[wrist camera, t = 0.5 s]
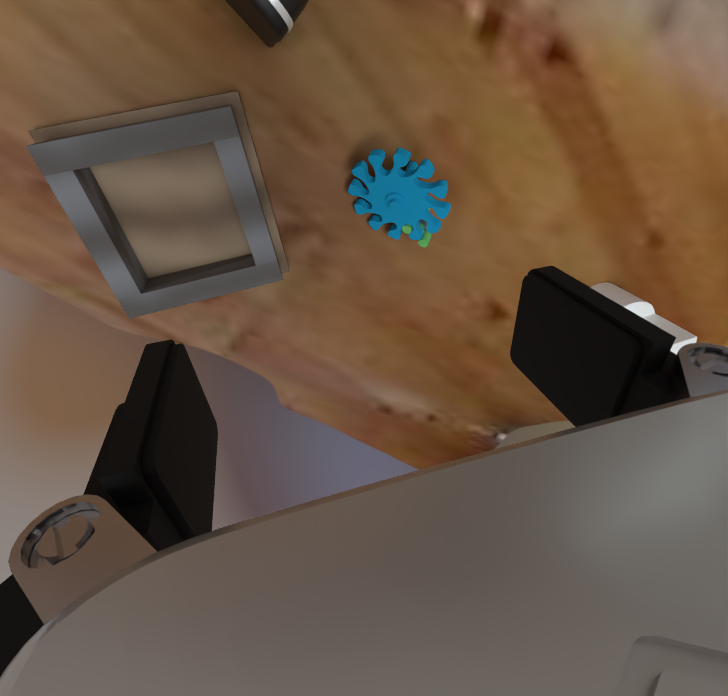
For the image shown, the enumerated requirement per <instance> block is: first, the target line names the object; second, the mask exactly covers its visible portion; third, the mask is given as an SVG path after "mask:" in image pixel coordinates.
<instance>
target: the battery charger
mask: <svg viewBox="0 0 728 696" xmlns="http://www.w3.org/2000/svg"><path fill="white" fill-rule="evenodd" d="M226 2H227V3H228V4H229V5H230V6H231V7H232V8H233V9H234V10H235V11H236V12H237V13H238V15H239V16H240V17H241V18H242V19H243V20H244V21H245V22H246V23H247V24H248V25H249V27H250V28H251V29H252V30H253V31H254V32H255V33H256V34H257V35H258V36H259V37H260V38H261V40H262V41H263V42H264V43H265V44H266V45H267V46H268V47H273V46H274V44H275V43H277V42H280V41H281V40H282V39H283V38H284V37H286V36H287V35H288V33H289V32H290V31H291V29H292V27H293V23H294V22H295V21H296V19H297V18H298V16H299V15H300V13H301V12H302V11H303V9H304V8H305V6H306V4H307V2H308V0H226Z"/></svg>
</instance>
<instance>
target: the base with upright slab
mask: <svg viewBox="0 0 728 696" xmlns="http://www.w3.org/2000/svg"><path fill="white" fill-rule="evenodd" d="M590 288H592V289H594V290H595V291H597V292H599V293H601V294H602V295H604V296H606V297H607V298H609V299H611V300H613V301H614V302H616V303H618V304H620V305H621V306H623V307H625V308H626V309H628V310H630V311H632V312H633V313H635V314H637V315H638V316H640V317H642V318H644V319H645V320H647V321H649V322H651V323H652V324H654V325H656V326H657V327H659V328H661V329H663V330H664V331H666V332H668V333H669V334H671V335H673V336H675V337H676V339H675V341H674V343H673V346H672V348H671V350H670V351H671V352H673V353H675V354H676V355H677V353H678V351H679V349H680V348H681V347H682V346H684V345H687V344H690V343H696V340H697V337H696V336H695V335H693V334H691V333H689V332H687V331H686V330H684V329H682V328H680V327H678V326H677V325H675V324H673V323H671V322H669V321H668V320H666V319H664V318H662V317H660V316H658V315H657V314H655V311H654V308H653V307H652V305H651V304H649V303H647V302H645V301H643V300H641V299H640V298H638V297H636V296H634V295H632V294H630V293H628V292H627V291H625V290H623V289H621V288H619V287H617V286H615V285H614V284H612V283H600V284H597V285H594V286H592V287H590Z"/></svg>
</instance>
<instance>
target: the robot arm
mask: <svg viewBox="0 0 728 696" xmlns="http://www.w3.org/2000/svg"><path fill="white" fill-rule="evenodd" d="M675 339H676V337H675V336H673V335H671V334H669V333H668V332H666V331H664V330H663V329H661V328H659V327H657V326H656V325H654V324H652V323H651V322H649V321H647V320H645V319H644V318H642V317H640V316H638V315H637V314H635V313H633V312H632V311H630V310H628V309H626V308H625V307H623V306H621V305H620V304H618V303H616V302H614V301H613V300H611V299H609V298H607V297H606V296H604V295H602V294H601V293H599V292H597V291H595V290H594V289H592V288H590V287H589V286H587V285H585V284H583V283H582V282H580V281H578V280H576V279H575V278H573V277H571V276H570V275H568V274H566V273H564V272H563V271H561V270H559V269H558V268H556V267H554V266H547V267H542V268H537V269H532V270H531V271H529V273H528V275H527V276H525V277H524V279H523V282H522V288H521V294H520V299H519V305H518V311H517V317H516V322H515V328H514V334H513V339H512V345H511V351H510V356H511V360H512V362H513V363H514V364H515V365H516V367H517V368H518V369H519V370H520V371H521V372H522V373H523V374H524V375H525V376H526V377H527V378H528V379H529V380H530V381H531V382H532V383H533V384H534V385H535V386H536V387H537V388H538V389H539V390H540V391H541V392H542V393H543V394H544V395H545V396H546V397H547V398H548V399H549V400H550V401H551V402H552V403H553V404H554V405H555V406H556V407H557V408H558V409H559V410H560V411H561V412H562V413H563V415H564V416H565V417H566V418H567V419H568V420H569V421H570V422H571V423H572V424H573V425H574V426H575V428H571V429H568V430H564V431H560V432H556V433H553V434H549V435H545V436H542V437H538V438H534V439H531V440H527V441H524V442H520V443H516V444H512V445H509V446H506V447H501V448H498V449H494V450H491V451H487V452H483V453H480V454H476V455H472V456H469V457H465V458H462V459H458V460H454V461H451V462H447V463H444V464H440V465H436V466H433V467H429V468H425V469H422V470H418V471H415V472H411V473H408V474H404V475H401V476H397V477H393V478H390V479H386V480H383V481H380V482H376V483H373V484H369V485H365V486H362V487H358V488H354V489H351V490H347V491H344V492H340V493H337V494H333V495H330V496H326V497H323V498H319V499H315V500H312V501H309V502H305V503H302V504H298V505H295V506H292V507H288V508H285V509H282V510H278V511H275V512H272V513H269V514H265V515H262V516H258V517H255V518H252V519H248V520H245V521H242V522H238V523H235V524H232V525H228V526H226V527H223V528H220V529H217V530H214V531H212V518H213V517H212V516H213V502H214V485H215V471H216V455H217V439H218V432H217V431H218V430H217V424H216V421H215V418H214V416H213V414H212V411H211V409H210V406H209V404H208V402H207V399H206V397H205V394H204V392H203V389H202V387H201V385H200V383H199V380H198V377H197V375H196V373H195V370H194V368H193V366H192V363H191V361H190V358H189V356H188V354H187V351H186V349H185V347H184V345H183V344H182V343H181V344H175V342H174V341H173V340H166V341H161V342H156V343H151V344H147V345H146V346H145V348H144V351H143V354H142V356H141V359H140V362H139V365H138V367H137V370H136V373H135V376H134V378H133V381H132V384H131V387H130V390H129V392H128V395H127V398H126V401H125V403H122V404H120V405H119V406H118V407H117V409H116V411H115V413H114V416H113V418H112V422H111V424H110V426H109V429H108V432H107V434H106V437H105V439H104V442H103V445H102V447H101V450H100V453H99V455H98V458H97V461H96V463H95V466H94V468H93V471H92V474H91V476H90V479H89V482H88V484H87V487H86V489H85V492H84V495H81V496H75V497H72V498H69V499H67V500H64V501H62V502H59V503H57V504H56V505H54V506H52V507H51V508H49V509H47V510H46V511H44V512H43V513H41V514H40V515H39V516H38V517H37V518H36V519H34V520H33V521H32V522H31V523H30V524H29V525H28V526H27V527H26V528H25V529H24V530H23V532H22V533H21V534H20V535H19V536H18V538H17V540H16V542H15V543H14V545H13V547H12V549H11V552H10V557H9V566H10V570H11V572H12V575H11V576H10V577H9V578H8V579H6V580H5V581H4V582H3V583H1V584H0V696H728V348H727V347H724V346H720V345H715V344H709V343H690V344H687V345H684V346H682V347H681V348H680V349H679V351H678V353H677V355H676V354H675V353H673V352H671V351H670V350H671V348H672V346H673V343H674V341H675Z"/></svg>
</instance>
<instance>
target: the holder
mask: <svg viewBox="0 0 728 696" xmlns="http://www.w3.org/2000/svg"><path fill="white" fill-rule="evenodd" d="M28 132H29V133H30V135H31V137H32V138H33V140H34V142H35V144H32V145H28V146H26V147H27V149H28V151H29V152H30V154H31V156H32V157H33V159H34V161H35V162H36V164H37V166H38V167H39V169H40V171H41V172H42V174H43V176H44V177H45V179H46V181H47V182H48V184H49V186H50V187H51V189H52V191H53V192H54V194H55V196H56V197H57V199H58V201H59V202H60V204H61V206H62V207H63V209H64V211H65V212H66V214H67V216H68V217H69V219H70V221H71V222H72V224H73V226H74V227H75V229H76V231H77V232H78V234H79V236H80V237H81V239H82V241H83V242H84V244H85V246H86V247H87V249H88V251H89V252H90V254H91V256H92V257H93V259H94V261H95V262H96V264H97V266H98V267H99V269H100V271H101V272H102V274H103V276H104V277H105V279H106V281H107V282H108V284H109V286H110V287H111V289H112V291H113V292H114V294H115V296H116V297H117V299H118V301H119V302H120V304H121V306H122V307H123V309H124V311H125V312H126V314H127V316H128V317H129V319H130V318H134V317H138V316H141V315H145V314H149V313H153V312H157V311H161V310H165V309H169V308H173V307H177V306H181V305H185V304H189V303H193V302H197V301H201V300H205V299H209V298H213V297H216V296H220V295H224V294H228V293H232V292H236V291H240V290H244V289H248V288H252V287H256V286H260V285H264V284H268V283H272V282H276V281H280V280H283V278H282V273H284V272H288V271H289V267H288V264H287V260H286V257H285V253H284V250H283V246H282V243H281V239H280V236H279V232H278V229H277V225H276V222H275V218H274V215H273V211H272V208H271V205H270V201H269V198H268V194H267V191H266V187H265V184H264V180H263V177H262V173H261V170H260V166H259V163H258V159H257V156H256V152H255V149H254V145H253V142H252V138H251V135H250V132H249V128H248V125H247V121H246V118H245V114H244V111H243V107H242V104H241V100H240V97H239V93H238V91H234V92H229V93H224V94H218V95H213V96H208V97H203V98H197V99H192V100H187V101H182V102H176V103H171V104H166V105H161V106H155V107H150V108H145V109H140V110H134V111H129V112H124V113H119V114H113V115H108V116H103V117H97V118H92V119H87V120H82V121H76V122H71V123H66V124H61V125H55V126H50V127H45V128H40V129H35V130H30V131H28Z"/></svg>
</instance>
